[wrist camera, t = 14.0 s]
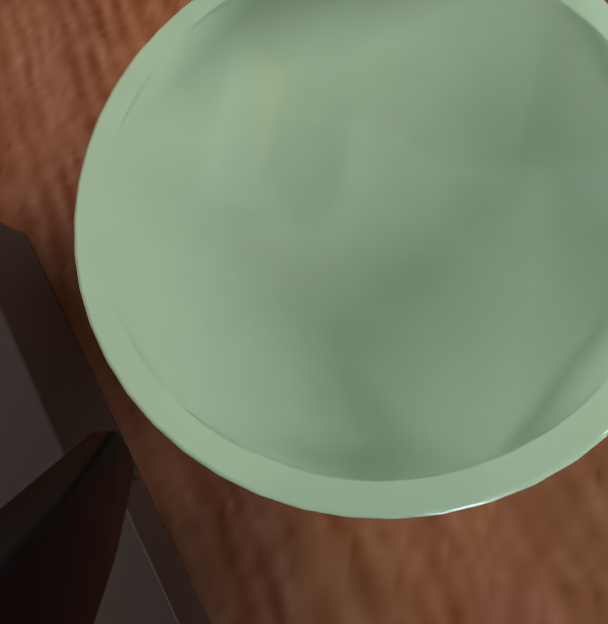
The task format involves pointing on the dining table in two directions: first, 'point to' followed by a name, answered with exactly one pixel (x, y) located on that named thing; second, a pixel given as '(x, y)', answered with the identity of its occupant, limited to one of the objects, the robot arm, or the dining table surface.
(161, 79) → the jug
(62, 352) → the step shelf
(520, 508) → the dining table surface
